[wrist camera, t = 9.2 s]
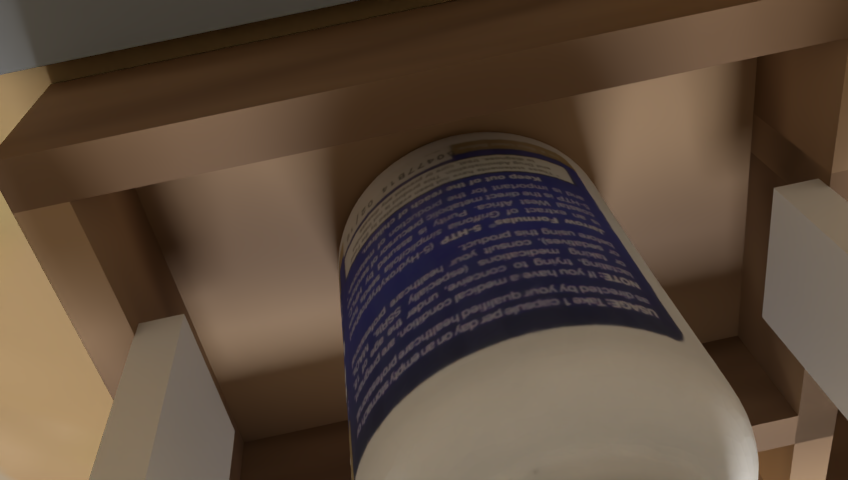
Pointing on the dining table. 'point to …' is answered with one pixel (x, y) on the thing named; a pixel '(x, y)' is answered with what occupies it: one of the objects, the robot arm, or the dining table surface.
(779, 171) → the cradle
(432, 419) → the pill bottle
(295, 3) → the card
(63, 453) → the dining table surface
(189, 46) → the dining table surface
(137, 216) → the cradle
